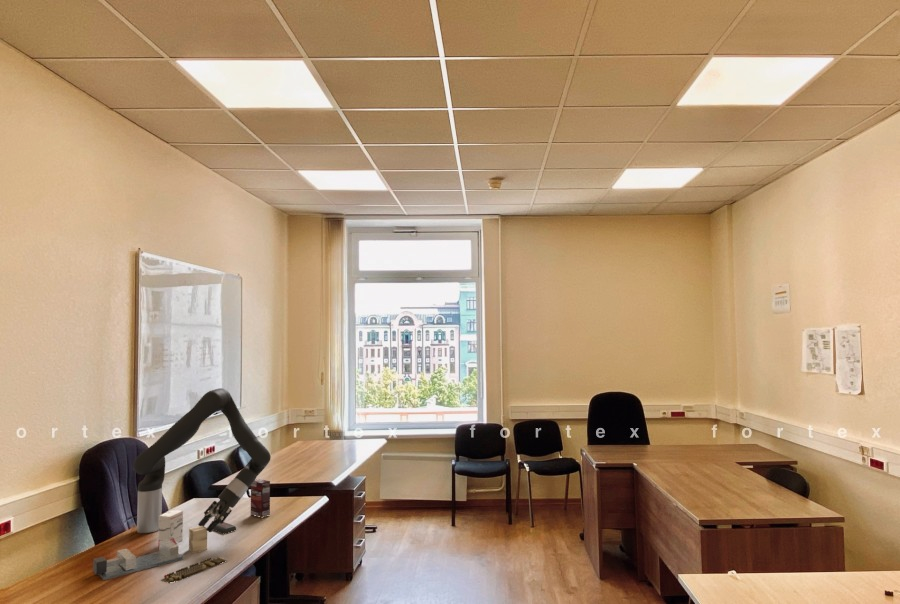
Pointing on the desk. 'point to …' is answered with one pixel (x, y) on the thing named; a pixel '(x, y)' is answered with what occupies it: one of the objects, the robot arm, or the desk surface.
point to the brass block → (197, 539)
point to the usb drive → (224, 527)
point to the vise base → (147, 560)
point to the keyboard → (192, 569)
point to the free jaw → (115, 562)
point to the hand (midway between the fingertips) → (204, 528)
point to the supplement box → (260, 498)
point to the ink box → (171, 526)
